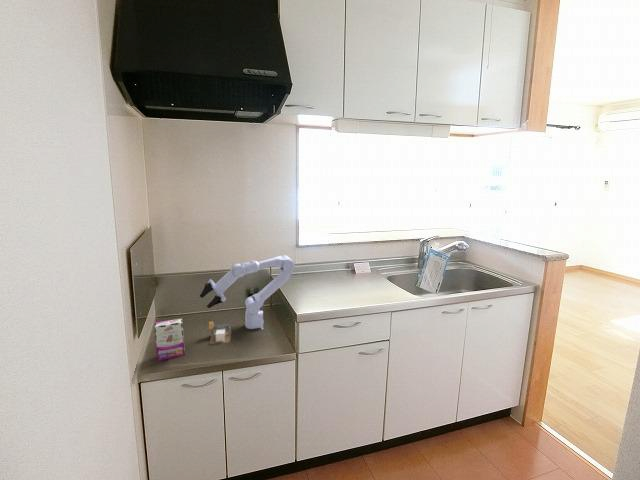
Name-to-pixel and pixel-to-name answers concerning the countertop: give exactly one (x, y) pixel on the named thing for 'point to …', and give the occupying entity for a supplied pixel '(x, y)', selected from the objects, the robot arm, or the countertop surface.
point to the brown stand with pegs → (213, 341)
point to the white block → (220, 334)
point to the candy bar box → (169, 339)
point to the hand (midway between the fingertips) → (204, 302)
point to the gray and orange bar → (217, 326)
